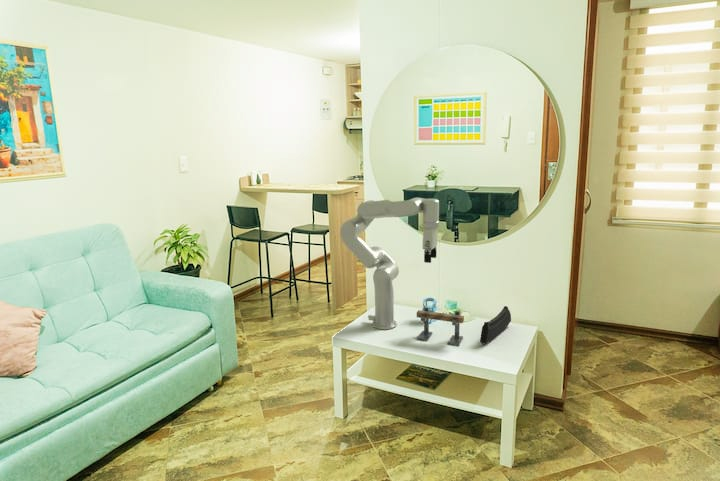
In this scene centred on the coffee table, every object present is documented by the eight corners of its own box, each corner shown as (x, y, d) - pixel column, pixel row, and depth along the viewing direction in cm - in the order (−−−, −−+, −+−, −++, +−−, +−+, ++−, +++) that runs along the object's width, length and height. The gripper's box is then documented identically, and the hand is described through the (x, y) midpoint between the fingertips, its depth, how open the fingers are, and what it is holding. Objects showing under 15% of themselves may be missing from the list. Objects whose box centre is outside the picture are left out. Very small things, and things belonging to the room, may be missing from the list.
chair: (420, 322, 253) (420, 300, 250) (424, 317, 260) (424, 295, 258) (434, 324, 250) (435, 302, 247) (438, 318, 258) (438, 297, 255)
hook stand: (417, 339, 232) (417, 311, 229) (422, 332, 240) (422, 305, 237) (459, 345, 224) (459, 317, 221) (463, 338, 232) (463, 310, 229)
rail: (416, 317, 232) (416, 312, 231) (418, 315, 235) (418, 310, 234) (462, 323, 223) (462, 318, 223) (463, 320, 226) (464, 315, 226)
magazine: (484, 329, 220) (509, 294, 240) (478, 328, 222) (503, 293, 242) (488, 359, 227) (511, 322, 247) (481, 357, 229) (505, 321, 249)
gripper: (428, 221, 239) (427, 255, 243) (417, 227, 224) (417, 263, 227) (443, 222, 236) (442, 256, 240) (433, 228, 221) (433, 265, 224)
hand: (430, 259), depth 233 cm, fingers open, 9 cm apart
